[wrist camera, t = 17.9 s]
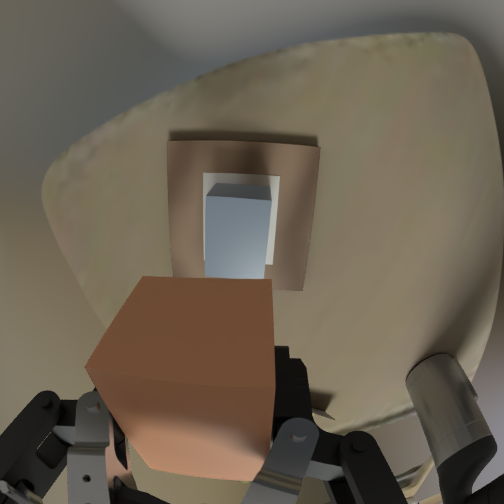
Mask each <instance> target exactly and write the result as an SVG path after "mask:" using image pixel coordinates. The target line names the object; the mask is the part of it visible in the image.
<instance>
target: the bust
mask: <svg viewBox="0 0 504 504" xmlns="http://www.w3.org/2000/svg"><path fill="white" fill-rule="evenodd" d="M406 500H407V502H408V504H417V503H418V500H417V499H416V498H415V497H414V498H407V499H406Z"/></svg>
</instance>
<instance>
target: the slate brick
mask: <svg viewBox="0 0 504 504" xmlns="http://www.w3.org/2000/svg"><path fill="white" fill-rule="evenodd" d="M271 205H272V197H271V188H270V187H267V186H255V185H242V184H228V183H215V185H214V186H213V187H212V188H211V190H210V191H209V192H208V194H207V195H206V209H205V276H207V277H218V278H231V279H264V272H265V263H266V254H267V244H268V235H269V225H270V215H271Z"/></svg>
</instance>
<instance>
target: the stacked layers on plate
mask: <svg viewBox="0 0 504 504" xmlns="http://www.w3.org/2000/svg"><path fill="white" fill-rule="evenodd" d="M314 414H318V415H321V416H324V417H327V418H330V419H333V420H335V419H334V418H332V417H331V416H330V415H328V414H327V413H326V412H324V411H320V410H317V409H314V408H312V415H313V416H314Z"/></svg>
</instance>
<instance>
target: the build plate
mask: <svg viewBox="0 0 504 504" xmlns="http://www.w3.org/2000/svg"><path fill="white" fill-rule="evenodd" d="M320 148H321V147H318V146H310V145H300V144H288V143H275V142H260V141H238V140H170V141H167V171H168V205H169V225H170V242H171V255H172V268H173V277H185V278H218V277H207V276H205V209H206V195H207V194H208V192H209V191H210V190H211V188H212V187H213V186H214V185H215V183H228V184H242V185H255V186H267V187H270V188H271V197H272V205H271V215H270V225H269V235H268V244H267V254H266V263H265V272H264V279H272V289H275V290H295V291H303V285H304V279H305V273H306V266H307V259H308V252H309V245H310V238H311V230H312V222H313V214H314V206H315V197H316V188H317V179H318V169H319V159H320Z"/></svg>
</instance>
